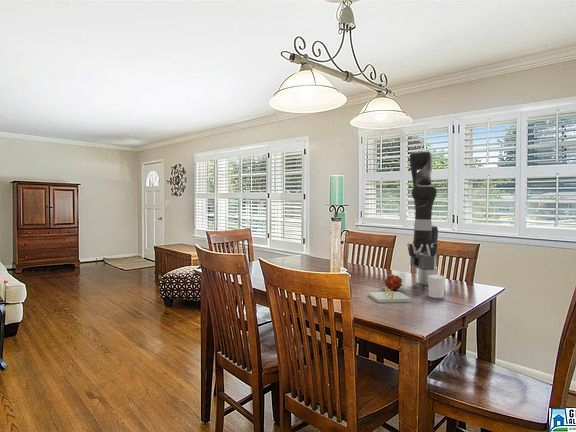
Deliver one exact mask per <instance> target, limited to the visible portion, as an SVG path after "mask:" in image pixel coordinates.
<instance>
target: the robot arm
mask: <svg viewBox="0 0 576 432" xmlns="http://www.w3.org/2000/svg"><path fill="white" fill-rule="evenodd" d="M433 159H434V158H433V154H432V152H431V151H430V150H422V151H413V152H411V153H410V154H409V163H410V164H409V166H410V172H411V178H412V185H413V186H412V187H413V188H412V190H411V198H412V199H413V201H414V202H413V203H414V208H415V209H414V210H415V214H414V216H415V217H414V224H413V225H414V227H413V239H414V240H413V242H412V243H407V245H406V246H407V249H408V256H409V257H411V256H412V257H413V264H414V265H415V266H418V255H419V254H420V253H424V254H427V255H430V256H433V257H434V270H421V269H419V268H417V270H418V273H417V284H419V285H422V286H428V276H429V275H438V267H437V249H438V238H439V228H438V226H437V225H433V223H432V212H433V206H434V203H435V199H436V198H437V192H438V191H437V188H436V186H435V185H433V184H432V171H433V170H432V169H433V164H434V163H433Z"/></svg>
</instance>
